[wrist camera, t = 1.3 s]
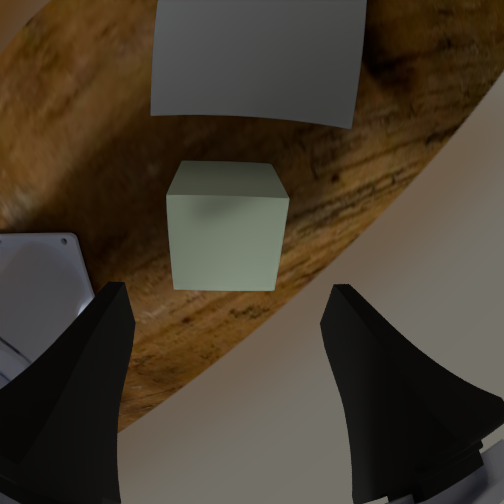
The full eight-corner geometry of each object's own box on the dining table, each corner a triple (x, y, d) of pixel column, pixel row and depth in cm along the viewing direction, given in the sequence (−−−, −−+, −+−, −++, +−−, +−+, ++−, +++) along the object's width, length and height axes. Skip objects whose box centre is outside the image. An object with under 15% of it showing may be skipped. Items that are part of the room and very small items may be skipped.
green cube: (183, 236, 18) (173, 289, 14) (182, 160, 15) (166, 195, 11) (262, 238, 18) (274, 290, 14) (270, 163, 16) (289, 198, 12)
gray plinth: (164, 109, 13) (150, 115, 11) (177, -37, 8) (168, -58, 6) (329, 119, 14) (351, 129, 12) (344, -19, 9) (367, -33, 7)
